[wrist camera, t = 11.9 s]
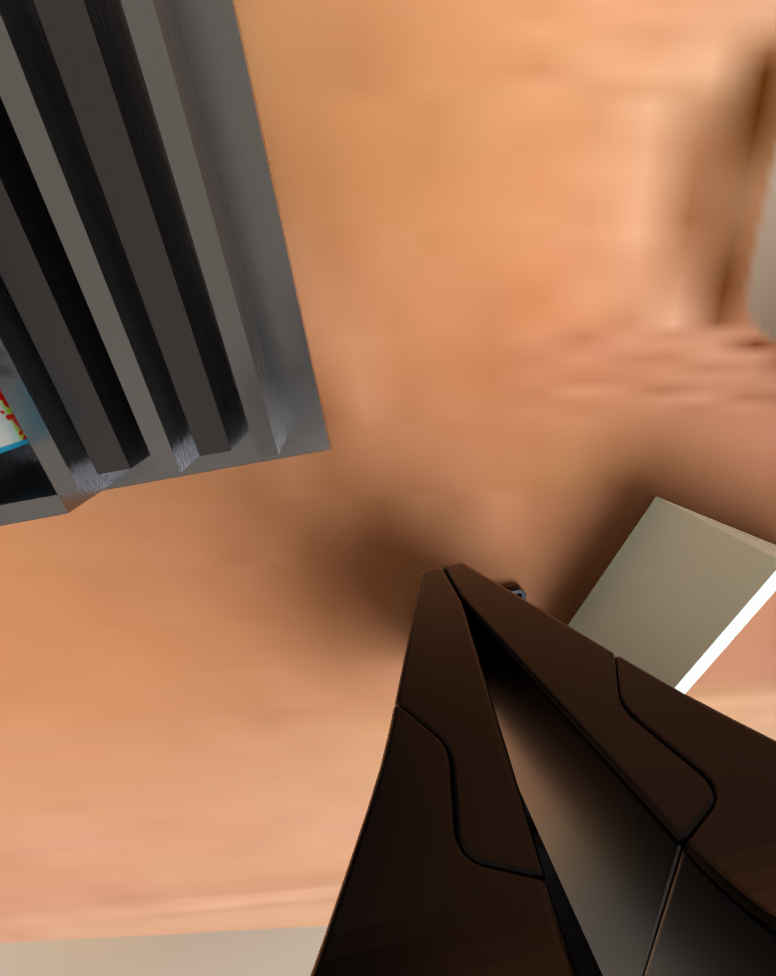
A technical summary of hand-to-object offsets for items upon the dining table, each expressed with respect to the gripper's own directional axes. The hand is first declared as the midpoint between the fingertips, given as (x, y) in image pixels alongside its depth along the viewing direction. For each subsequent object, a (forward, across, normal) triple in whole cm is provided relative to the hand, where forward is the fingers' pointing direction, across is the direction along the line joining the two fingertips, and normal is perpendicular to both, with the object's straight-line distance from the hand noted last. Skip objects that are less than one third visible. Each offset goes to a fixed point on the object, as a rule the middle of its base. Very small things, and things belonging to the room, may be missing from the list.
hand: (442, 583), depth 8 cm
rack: (+12, +10, -9) cm, 18 cm away
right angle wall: (+13, -18, +15) cm, 26 cm away
